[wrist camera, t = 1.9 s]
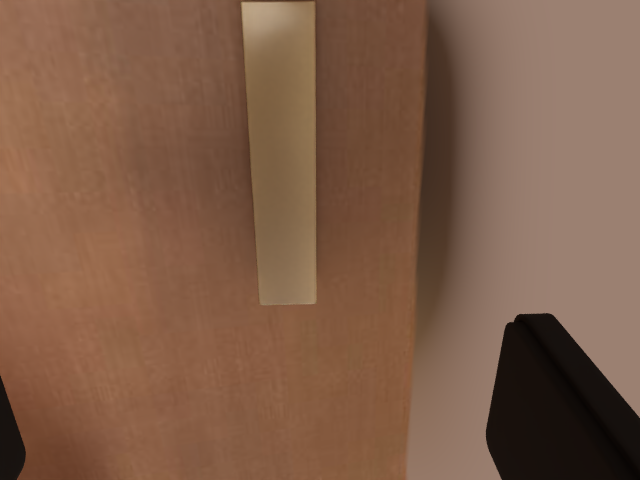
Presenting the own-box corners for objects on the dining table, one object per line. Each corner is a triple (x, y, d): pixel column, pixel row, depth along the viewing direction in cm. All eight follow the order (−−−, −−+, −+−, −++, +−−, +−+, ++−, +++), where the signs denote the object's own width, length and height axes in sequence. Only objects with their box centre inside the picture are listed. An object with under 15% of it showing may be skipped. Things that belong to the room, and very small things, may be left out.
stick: (313, -1, 19) (315, 0, 17) (314, 275, 24) (316, 304, 22) (246, -1, 19) (240, 0, 17) (262, 276, 24) (259, 305, 22)
